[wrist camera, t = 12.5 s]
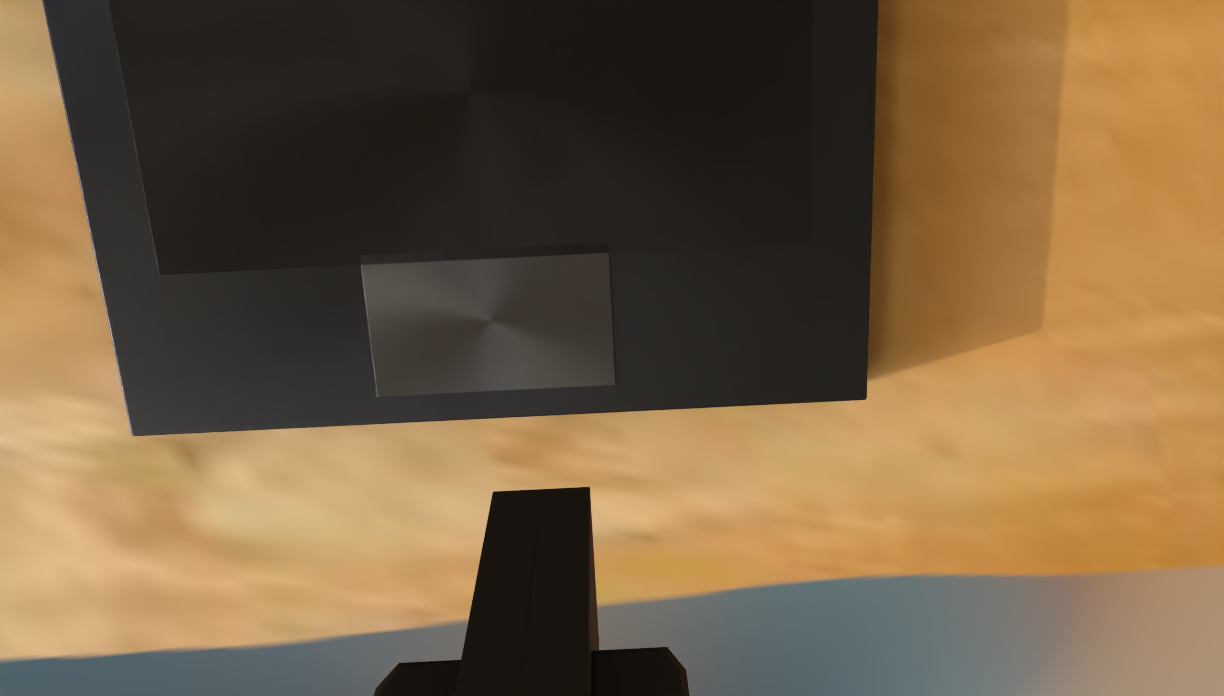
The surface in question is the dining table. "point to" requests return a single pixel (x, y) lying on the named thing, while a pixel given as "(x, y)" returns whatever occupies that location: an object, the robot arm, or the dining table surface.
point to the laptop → (473, 204)
